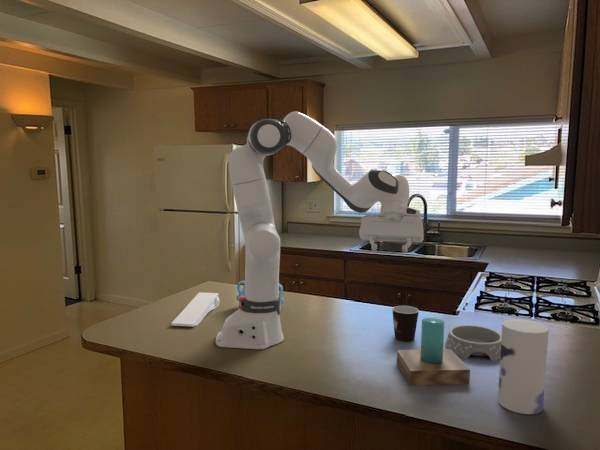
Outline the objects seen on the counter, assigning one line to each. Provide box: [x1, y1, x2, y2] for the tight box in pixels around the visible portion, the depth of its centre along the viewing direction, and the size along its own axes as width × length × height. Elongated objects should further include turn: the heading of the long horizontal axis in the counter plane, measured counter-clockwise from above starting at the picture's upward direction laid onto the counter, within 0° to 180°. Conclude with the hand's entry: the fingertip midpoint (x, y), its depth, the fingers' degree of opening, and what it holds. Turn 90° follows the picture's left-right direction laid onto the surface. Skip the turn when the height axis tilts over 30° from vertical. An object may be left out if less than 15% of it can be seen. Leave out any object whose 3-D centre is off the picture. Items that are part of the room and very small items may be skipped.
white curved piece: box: [171, 291, 221, 328], centre depth 182 cm, size 10×7×28 cm
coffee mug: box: [391, 305, 420, 343], centre depth 159 cm, size 12×9×10 cm
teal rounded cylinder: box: [420, 317, 445, 364], centre depth 131 cm, size 6×6×11 cm
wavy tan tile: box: [396, 348, 471, 386], centre depth 132 cm, size 16×14×4 cm
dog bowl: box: [444, 324, 502, 361], centre depth 149 cm, size 17×18×5 cm
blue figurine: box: [236, 280, 285, 305], centre depth 189 cm, size 16×16×14 cm
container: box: [497, 318, 550, 415], centre depth 114 cm, size 10×10×20 cm
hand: (389, 250), depth 147 cm, fingers open, 8 cm apart
